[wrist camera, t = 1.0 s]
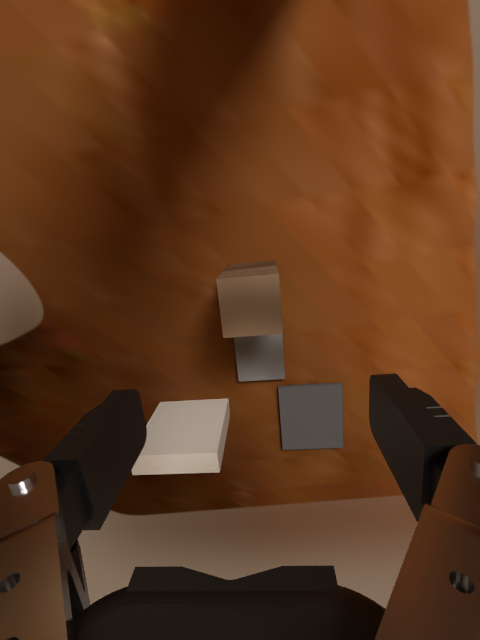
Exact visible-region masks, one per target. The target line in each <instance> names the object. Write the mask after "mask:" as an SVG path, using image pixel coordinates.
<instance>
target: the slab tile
mask: <svg viewBox="0 0 480 640" xmlns="http://www.w3.org/2000/svg"><path fill="white" fill-rule="evenodd" d="M229 418H230V409H229V401H228V399H210V400H191V401H172V402H160V403H159V405H158V406H157V408H156V410H155V412H154V413H153V415H152V417H151V418H150V420H149V422H148V423H147V425H146V428H147V437H146V442H145V445H144V447H143V449H142V451H141V453H140V455H139V457H138V459H137V461H136V462H135V464H134V466H133V468H132V475H152V474H185V473H218V472H220V469H221V463H222V458H223V452H224V446H225V441H226V435H227V429H228V424H229Z"/></svg>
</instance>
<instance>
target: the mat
mask: <svg viewBox="0 0 480 640" xmlns="http://www.w3.org/2000/svg"><path fill="white" fill-rule="evenodd" d="M278 393H279V407H280V421H281V434H282V448H283V450H296V449H323V448H343V405H342V383H324V384H306V385H288V386H278Z"/></svg>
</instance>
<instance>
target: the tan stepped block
mask: <svg viewBox="0 0 480 640" xmlns="http://www.w3.org/2000/svg"><path fill="white" fill-rule="evenodd" d="M216 282H217V290H218V299H219V307H220V316H221V324H222V332H223V338H232V337H234V344H235V353H236V362H237V371H238V380H239V382H240V381H258V380H275V379H285V371H284V356H283V341H282V334H283V328H282V313H281V298H280V282H279V272H278V269H277V266H276V263H275V261H267V262H256V263H246V264H235V265H229V266H228V267H227V268H226V269H225V270H224V271H223V272H222V273H221V274H220V276H219V277H218V278H217V279H216Z"/></svg>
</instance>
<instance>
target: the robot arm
mask: <svg viewBox="0 0 480 640" xmlns="http://www.w3.org/2000/svg"><path fill="white" fill-rule="evenodd" d="M369 420H370V427H371V431H372V434H373V436H374V438H375V440H376V442H377V444H378V446H379V448H380V450H381V452H382V454H383V456H384V458H385V460H386V462H387V464H388V466H389V468H390V470H391V472H392V474H393V476H394V478H395V479H396V481H397V483H398V485H399V487H400V489H401V491H402V493H403V495H404V497H405V499H406V501H407V503H408V505H409V507H410V509H411V511H412V512H413V515H414V517H415V518H416V521H417V522H418V523H417V525H416V528H415V531H414V534H413V536H412V539H411V542H410V544H409V547H408V550H407V553H406V555H405V558H404V561H403V564H402V566H401V569H400V572H399V574H398V577H397V580H396V583H395V585H394V588H393V591H392V593H391V596H390V599H389V602H388V605H387V607H386V609H385V608H383V607H382V606H380V605H379V604H377V603H376V602H374V601H373V600H371V599H369V598H368V597H366V596H364V595H362V594H360V593H358V592H355V591H353V590H351V589H348V588H345V587H342V586H339V585H337V580H336V575H335V570H334V566H281V567H277V568H274V569H271V570H267V571H263V572H260V573H256V574H253V575H250V576H246V577H242V578H239V579H235V580H225V579H222V578H218V577H215V576H212V575H208V574H205V573H202V572H198V571H195V570H191V569H188V568H185V567H135V569H134V572H133V575H132V577H131V580H130V583H129V585H128V587H125V588H122V589H120V590H117V591H115V592H112V593H111V594H109V595H106V596H105V597H103V598H101V599H99V600H98V601H96V602H94V603H93V604H92V605H90V600H89V594H88V589H87V583H86V577H85V572H84V566H83V561H82V555H81V550H80V545H79V542H78V537H79V535H80V533H81V532H82V530H100V528H101V527H102V525H103V523H104V521H105V519H106V517H107V515H108V513H109V512H110V510H111V508H112V506H113V504H114V502H115V500H116V498H117V496H118V495H119V493H120V491H121V489H122V487H123V485H124V483H125V481H126V479H127V478H128V476H129V474H130V472H131V470H132V468H133V466H134V464H135V462H136V461H137V459H138V457H139V455H140V453H141V451H142V449H143V447H144V445H145V442H146V437H147V428H146V423H145V418H144V414H143V409H142V405H141V400H140V396H139V393H138V391H137V390H136V389H130V390H115V391H113V392H112V393H111V394H110V395H109V396H108V397H107V398H106V400H105V401H104V402H103V403H102V404H101V405H99V406H97V407H96V408H94V409H93V410H91V411H89V412H88V413H86V414H85V415H84V416H83V417H82V418H81V420H80V421H79V422H78V423H77V424H76V426H74V427H73V428H72V429H71V430H70V432H69V434H67V435H66V436H65V437H64V438H63V439H62V440H61V441H60V442H59V443H58V445H57V446H56V447H55V448H54V449H53V450H52V451H51V452H50V453H49V454H48V455H47V457H46V458H45V459H44V460H43V461H38V462H33V463H29V464H26V465H23V466H21V467H19V468H17V469H15V470H13V471H11V472H10V473H8V474H7V475H5V476H4V477H3V478H1V479H0V640H480V445H477V444H476V442H475V441H474V440H473V439H472V438H471V437H470V436H469V435H468V434H467V433H466V432H465V431H464V430H463V429H462V428H461V427H460V426H459V425H458V424H457V423H456V422H455V421H454V420H453V418H452V417H449V414H448V413H447V412H446V411H445V410H444V409H443V408H441V407H440V405H439V404H438V403H437V402H436V401H435V400H434V399H433V398H432V397H431V396H430V395H428V394H427V393H425V392H423V391H421V390H419V389H417V388H408V386H407V385H406V384H405V383H404V382H403V381H402V380H401V378H400V377H399V376H398V375H397V374H380V375H371V377H370V392H369Z"/></svg>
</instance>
